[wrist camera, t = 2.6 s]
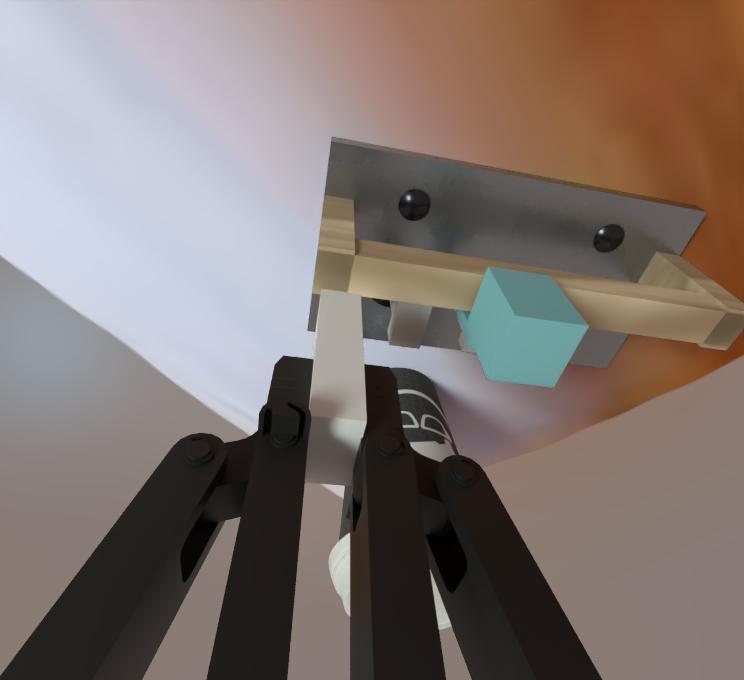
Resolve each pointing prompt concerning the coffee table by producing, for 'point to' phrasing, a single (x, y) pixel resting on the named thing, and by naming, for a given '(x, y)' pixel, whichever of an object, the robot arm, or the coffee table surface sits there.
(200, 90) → the coffee table surface
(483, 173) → the bolt plate
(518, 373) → the slider block
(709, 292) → the wooden rail
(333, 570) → the coffee cup
